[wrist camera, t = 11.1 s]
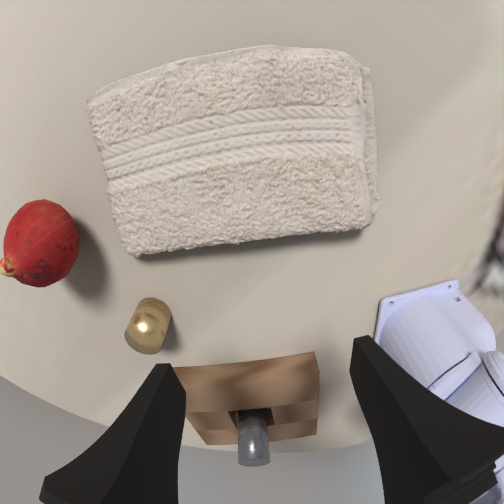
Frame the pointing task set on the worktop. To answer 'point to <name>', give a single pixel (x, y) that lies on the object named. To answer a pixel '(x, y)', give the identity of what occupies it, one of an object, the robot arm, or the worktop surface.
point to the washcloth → (238, 148)
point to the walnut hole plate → (253, 397)
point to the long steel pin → (253, 437)
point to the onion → (40, 244)
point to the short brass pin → (148, 326)
